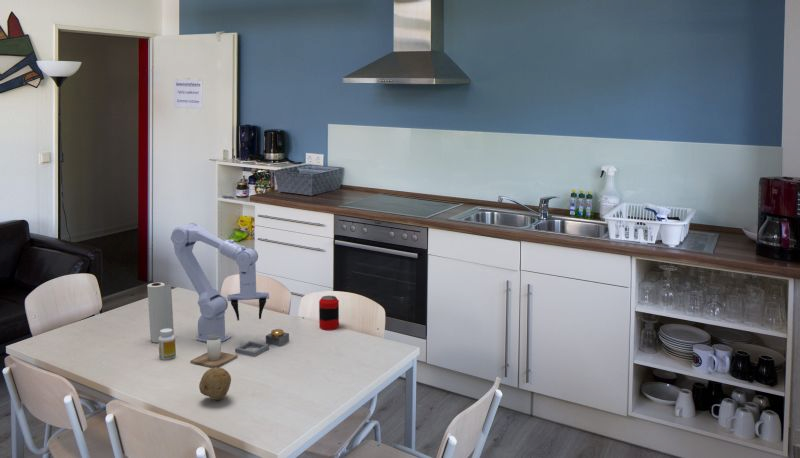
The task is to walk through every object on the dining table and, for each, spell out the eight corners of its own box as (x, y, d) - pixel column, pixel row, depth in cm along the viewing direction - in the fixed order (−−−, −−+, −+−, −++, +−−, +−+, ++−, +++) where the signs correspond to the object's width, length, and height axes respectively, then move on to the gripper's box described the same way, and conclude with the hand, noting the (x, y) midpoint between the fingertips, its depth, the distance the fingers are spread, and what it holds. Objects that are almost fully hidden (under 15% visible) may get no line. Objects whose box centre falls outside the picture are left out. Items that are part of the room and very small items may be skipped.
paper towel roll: (147, 341, 251) (143, 285, 247) (158, 336, 256) (155, 281, 252) (162, 344, 248) (159, 287, 244) (174, 339, 254) (171, 283, 249)
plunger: (268, 340, 250) (268, 332, 250) (276, 336, 254) (275, 328, 254) (278, 342, 249) (278, 333, 248) (285, 338, 253) (285, 330, 252)
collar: (235, 352, 241) (234, 348, 241) (250, 345, 249) (249, 341, 248) (254, 356, 238) (254, 352, 237) (269, 348, 245) (269, 344, 245)
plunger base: (265, 343, 250) (265, 335, 250) (275, 338, 256) (275, 330, 255) (279, 346, 248) (279, 338, 247) (289, 341, 253) (288, 333, 253)
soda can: (337, 330, 265) (337, 300, 263) (318, 330, 265) (317, 300, 263) (339, 324, 272) (339, 294, 270) (320, 323, 272) (320, 294, 270)
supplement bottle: (179, 355, 238) (177, 328, 236) (169, 361, 233) (167, 333, 231) (166, 353, 240) (164, 326, 238) (156, 358, 235) (154, 331, 233)
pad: (190, 362, 232) (190, 360, 232) (212, 352, 241) (212, 350, 241) (216, 368, 227) (216, 366, 227) (237, 357, 237) (237, 355, 237)
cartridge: (206, 356, 235) (205, 334, 234) (220, 354, 237) (219, 332, 235) (207, 361, 231) (207, 338, 230) (222, 359, 233) (221, 337, 231)
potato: (202, 408, 198) (200, 376, 196) (197, 396, 206) (196, 364, 204) (234, 403, 202) (232, 371, 200) (228, 391, 210) (227, 360, 208)
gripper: (267, 278, 251) (268, 314, 254) (227, 280, 248) (228, 316, 250) (269, 283, 244) (270, 320, 247) (226, 285, 241) (228, 322, 244)
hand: (249, 318), depth 248 cm, fingers open, 7 cm apart
